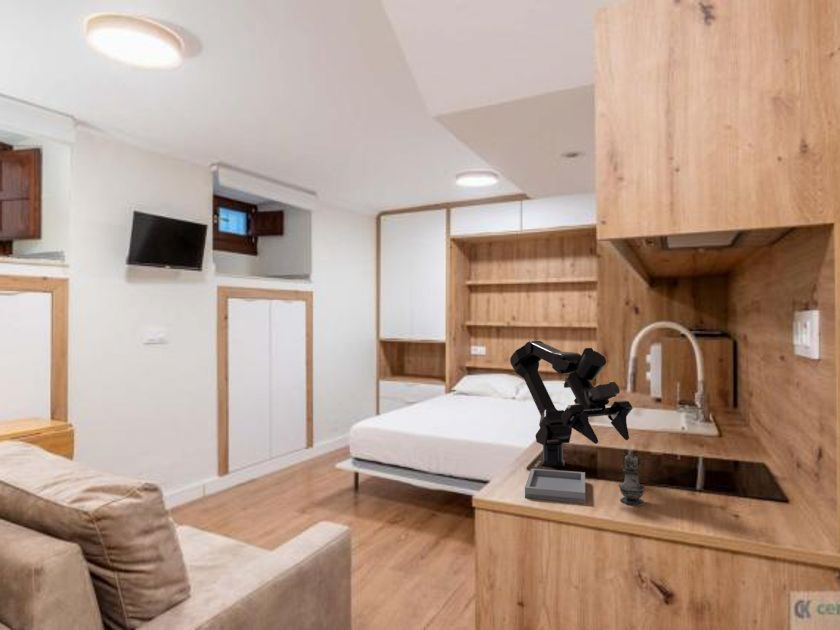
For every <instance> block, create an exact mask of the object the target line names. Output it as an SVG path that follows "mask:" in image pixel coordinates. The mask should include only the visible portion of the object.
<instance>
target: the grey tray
mask: <svg viewBox="0 0 840 630" xmlns="http://www.w3.org/2000/svg"><path fill="white" fill-rule="evenodd" d="M524 498H525V499H534V500H535V499H536V500H544V501H545V500H546V501H556V502H565V501H566V502H568V503H576V502H578V503H577V504H586V472H585V471H584V472H583V471H571V470H557V469H546V468H545V469H542V468H530V471H529V474H528V476H527V479H526V483H525V485H524ZM566 502H565V503H566Z"/></svg>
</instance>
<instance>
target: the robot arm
mask: <svg viewBox="0 0 840 630" xmlns="http://www.w3.org/2000/svg"><path fill="white" fill-rule="evenodd" d="M541 360H542V361H545V362H547V363H549V364H550V365H551V368H552V369H553V370H554V371H555V372H556V373H557V374H559V375H568V376H567V377H565V379H564V383H563V387H564V389H567V388H569V389H570V390H571V391H572V393H573V395H574V397H575V398H574V400H573V402H574V404H568V405H567V407H566V408H565V410H564V409H562V410H561V409H560V410H558V409H557V408H556V406H555V404H554V402H553V400H552V398H551V396H550V394H549V392H548V389H547V387H546V386H545V383H544V381H543V379H542V377H541V376H540V373H539V367H540V361H541ZM509 362H510V364H511V366H512V369H513V370H514V372H515V374H517V375H519V376H520V377H521V378H523V380H524V382H525V384H526V386H527V389H528V390H529V391H528V392H529V393H530V395H531V397H532V400H533V401H534V404H535V406H536V409H537V410H538V413H539V415H540V419H539V424H538V425H539V429H538V430H537V432H536V434H535V441H536V443H538V444H540V445H542V449H543V452H542V455H543V456H542V459H541V466H545V467H546V466H548V467H549V466H550V467H562V468H564V467H565V464H566V459H564V450H563V449H564V444H570V441H571V436H572V432H573V431H572V430H575V431H576V432H578V433H579V434H581V435H583V436H584V437H586V439H588V440H589V441H590V442H592V443H593V444H595V445H597V444H598V443H599V440H598V437H597V435H596V432H595V431H594V429H593V426H592V425H591V423H590V421H589V418H594V417H606V416H607V418H608V419H609V420H610V421H611V422H610V424H611V425H612V427H614V429H615V430H616V431H617V432H618V434H619V435H620V436H621V437H622V438H623V439H624V440H625V441H628V440H629V439H630V435H629V429H628V425H627V424H628V423H627V416H628V415H630V412H631V411H632V410H633V406H632V404H631V403H630V401H628V400H615V401H614V402H613V403H612V404H611V406H610V407H609V406H608V407H606V405H608V404H609V403H610V399H612V398H615V397H617V395H618V394H620V392H621V390H620V387H619V385H618V384H617V383H616V381H610V382H608V383H606V384H598V385H596V386H594V384H593V382H592V381H593V380H595V379H596V378H597V377H598V376H599V374H600V373H601V371H602V370H603V369H604V367H605V365H606V364H607V359H606V357H605V355H602V353H600V352H598V351H596V350H594V349H593V348H592V347H585V348H584V349H583V351H582V354H580V353H579V352H573V351H562V350H560V349H557V348H555V347H553V346H551V345H549V344H546V343H545V342H544V341H542V340H529V341H526V343H525V344H524V345H522V346H521V347H519V348H517V349H516V350H515V351H514V352H513V354H511V356H510V361H509Z"/></svg>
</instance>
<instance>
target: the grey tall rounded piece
mask: <svg viewBox="0 0 840 630" xmlns="http://www.w3.org/2000/svg"><path fill="white" fill-rule="evenodd" d="M622 470H623V472H624V481H623V482H621V483H619V484H618V488H619V491H620V492H621V493H620V494H621V495H623V497H621V498H620V499H619V501H620V503H621V504H624V505H627V506H630V507H631V506H632V507H641V506H643V505H645V502H644V500H643V499H641V498H642V497H643V495H644V493H645V490H646V486H645V485H642V484H641V483H640V480H639V473H640V469H639V459H638V456H636V455H634V454H633V451H630V452H629V454H627V455H626V456H625V457H624V468H623V469H622Z"/></svg>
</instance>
